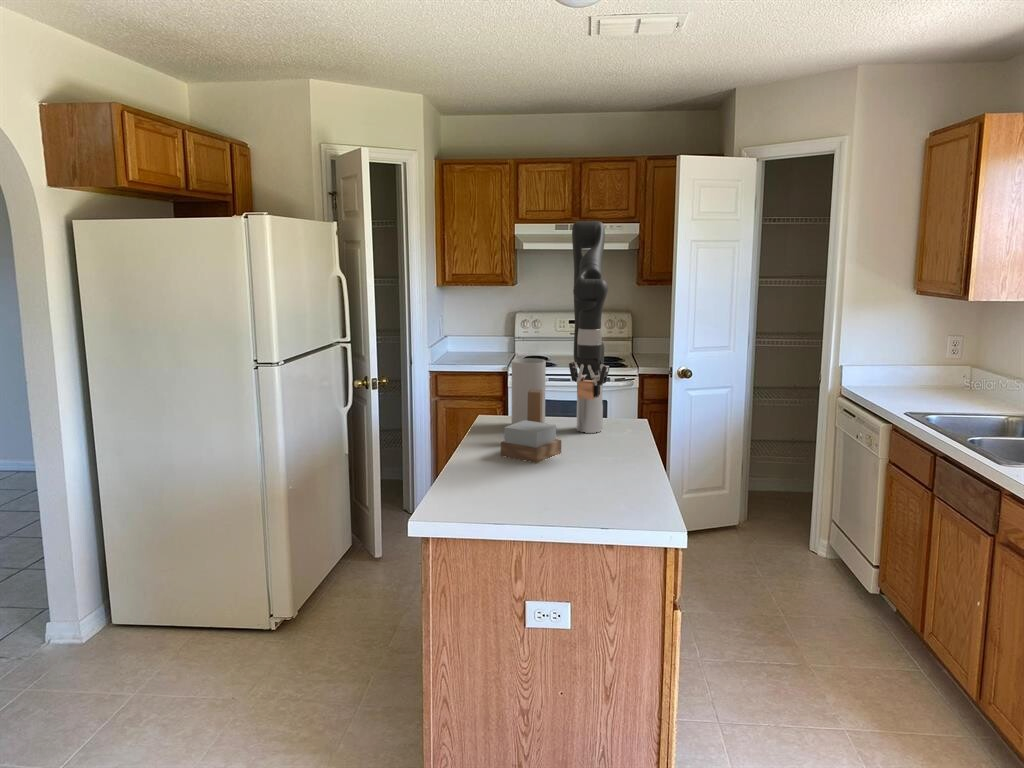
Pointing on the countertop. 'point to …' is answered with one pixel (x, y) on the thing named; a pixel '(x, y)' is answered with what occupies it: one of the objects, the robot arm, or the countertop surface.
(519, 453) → the tower base block
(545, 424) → the tower top block
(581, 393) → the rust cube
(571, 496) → the countertop surface
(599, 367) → the robot arm
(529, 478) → the countertop surface
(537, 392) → the wooden block
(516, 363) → the cylinder vase
